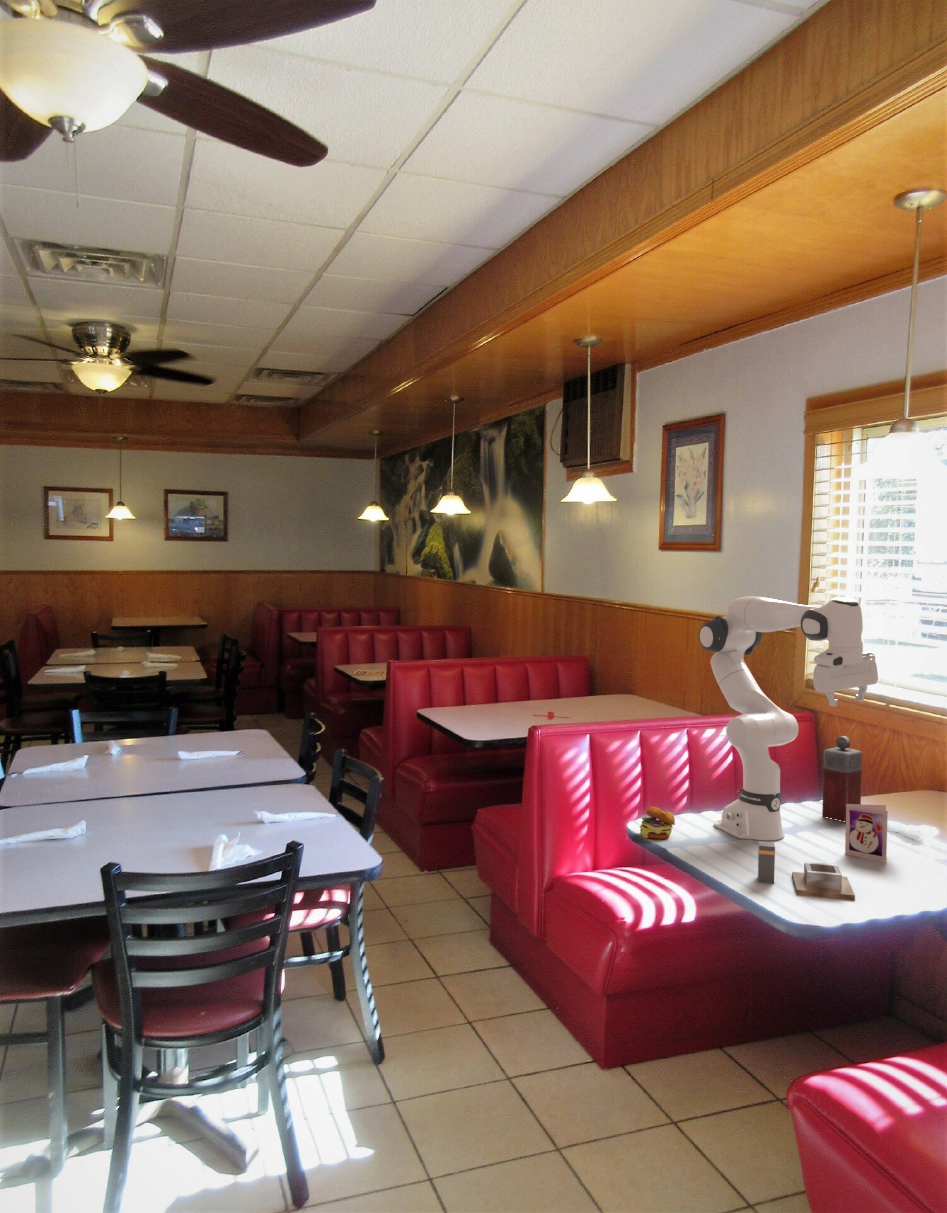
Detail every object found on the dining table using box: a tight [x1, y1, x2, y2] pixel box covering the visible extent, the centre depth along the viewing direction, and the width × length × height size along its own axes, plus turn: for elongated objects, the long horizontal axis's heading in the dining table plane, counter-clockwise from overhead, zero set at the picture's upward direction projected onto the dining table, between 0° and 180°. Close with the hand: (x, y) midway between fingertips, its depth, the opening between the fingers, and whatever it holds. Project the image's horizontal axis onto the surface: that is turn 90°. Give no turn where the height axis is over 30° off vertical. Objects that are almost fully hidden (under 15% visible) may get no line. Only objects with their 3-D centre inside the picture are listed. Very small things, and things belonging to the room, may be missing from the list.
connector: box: [757, 840, 776, 885], centre depth 236 cm, size 4×4×10 cm
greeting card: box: [844, 803, 889, 863], centre depth 257 cm, size 11×7×15 cm, turn 51°
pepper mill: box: [821, 735, 863, 822], centre depth 297 cm, size 9×11×28 cm
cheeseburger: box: [639, 806, 676, 840], centre depth 276 cm, size 10×11×10 cm
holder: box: [791, 861, 856, 901], centre depth 231 cm, size 14×14×5 cm
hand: (846, 703), depth 247 cm, fingers open, 8 cm apart
